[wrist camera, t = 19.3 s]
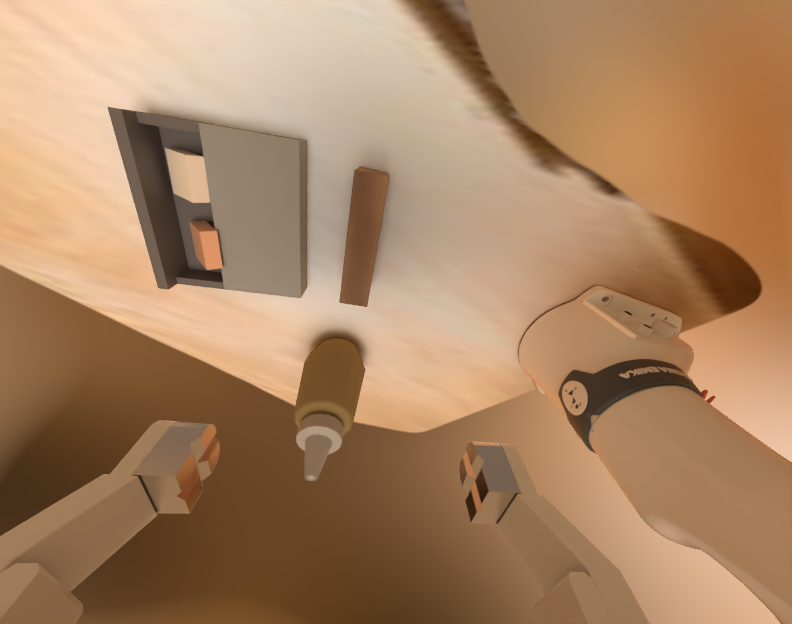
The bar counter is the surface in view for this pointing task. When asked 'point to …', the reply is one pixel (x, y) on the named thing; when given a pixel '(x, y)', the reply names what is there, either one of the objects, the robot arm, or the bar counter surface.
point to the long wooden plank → (363, 234)
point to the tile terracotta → (206, 244)
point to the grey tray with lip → (220, 203)
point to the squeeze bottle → (327, 400)
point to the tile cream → (188, 175)
